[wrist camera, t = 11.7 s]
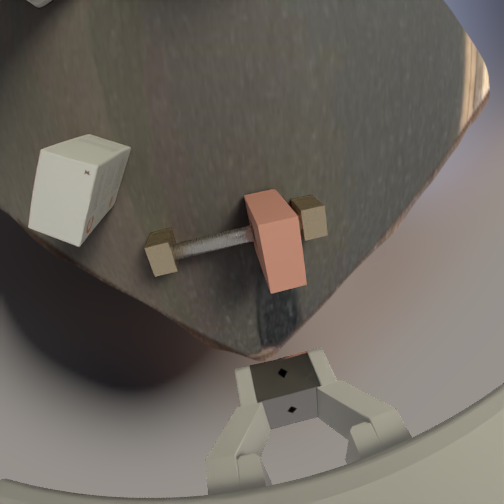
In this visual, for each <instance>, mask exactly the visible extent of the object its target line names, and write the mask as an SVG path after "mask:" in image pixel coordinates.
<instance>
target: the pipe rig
mask: <svg viewBox="0 0 504 504" xmlns="http://www.w3.org/2000/svg"><path fill="white" fill-rule="evenodd" d="M291 206H292V210H293V211H294V212H295V213H296V214H297V215H298V219H299V227H300V234H301V236H302V237H303V239H304V240H305V241H306V240H310V239H314V238H319V237H323V236H327V224H326V214H325V205H323V204H322V203H321V202H320V201H319V200H318V199H316V198H315V197H314V196H313V195H307V196H303V197H298V198H293V199H291ZM253 241H256V239H255V234H254V229H253V225H250V226H245V227H241V228H237V229H233V230H229V231H224V232H220V233H216V234H212V235H208V236H204V237H200V238H196V239H192V240H187V241H183V242H179V243H176V240H175V237H174V234H173V231H172V227H171V228H167V229H163V230H159V231H155V232H152V233H150V235H149V237H148V240H147V243H146V245H145V248H144V249H145V251H146V254H147V257H148V260H149V262H150V265H151V268H152V270H153V273H154V275H155V277H156V276H160V275H164V274H169V273H173V272H177V271H178V265H179V259H183V258H187V257H191V256H195V255H199V254H203V253H208V252H212V251H216V250H220V249H224V248H228V247H233V246H237V245H241V244H245V243H249V242H253Z"/></svg>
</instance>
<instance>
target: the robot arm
mask: <svg viewBox="0 0 504 504" xmlns="http://www.w3.org/2000/svg"><path fill="white" fill-rule="evenodd" d="M27 1H28V2H30V3H31V4H33V5H34V6H35V7H38V8H40V7H43V6H45V5H46V4H48V3H49V2H51V1H52V0H27ZM235 377H236V384H237V390H238V397H239V403H240V407H236V408H235V410H234V412H233V413H232V415H231V417H230V419H229V421H228V422H227V424H226V426H225V428H224V429H223V431H222V433H221V435H220V436H219V438H218V440H217V441H216V443H215V445H214V446H213V449H212V450H211V452H210V453H209V455H208V457H207V458H206V474H207V486H208V495H204V496H193V497H176V498H124V497H106V496H96V495H87V494H78V493H71V492H65V491H58V490H52V489H47V488H42V487H37V486H33V485H29V484H24V483H20V482H17V481H13V480H9V479H1V480H0V504H504V383H503V384H502V385H500V386H499V387H498V388H496V389H495V390H493V391H492V392H491V393H489V394H488V395H486V396H485V397H483V398H482V399H480V400H479V401H477V402H476V403H474V404H472V405H471V406H469V407H468V408H466V409H464V410H463V411H461V412H459V413H458V414H456V415H454V416H453V417H451V418H449V419H447V420H445V421H444V422H442V423H440V424H438V425H436V426H434V427H433V428H431V429H429V430H427V431H425V432H423V433H421V434H419V435H417V436H415V437H413V438H412V437H411V435H410V433H409V431H408V430H407V428H406V426H405V424H404V422H403V420H402V419H401V417H400V415H399V413H398V412H397V410H396V408H394V407H392V406H390V405H388V404H386V403H384V402H382V401H380V400H378V399H376V398H374V397H372V396H371V395H369V394H367V393H365V392H363V391H361V390H359V389H357V388H356V387H354V386H352V385H350V384H348V383H347V382H345V381H343V380H339V381H337V379H336V377H335V375H334V373H333V371H332V368H331V366H330V364H329V362H328V360H327V358H326V356H325V354H324V351H323V349H322V348H320V347H319V348H315V349H312V350H308V351H305V352H301V353H297V354H294V355H291V356H287V357H283V358H280V359H277V360H273V361H268V362H264V363H259V364H254V365H250V366H246V367H241V368H236V369H235ZM316 417H318V418H320V419H321V420H322V421H323V422H325V423H326V424H327V425H329V426H330V427H331V428H333V429H334V430H335V431H337V432H338V433H340V434H341V435H342V436H344V437H345V438H346V439H348V440H349V442H348V447H347V454H346V459H345V460H346V462H347V465H344V466H341V467H338V468H335V469H332V470H329V471H325V472H322V473H319V474H315V475H312V476H309V477H305V478H301V479H297V480H293V481H289V482H284V483H280V484H276V485H272V484H271V480H270V478H269V476H268V474H267V472H266V469H265V467H264V465H263V463H262V461H261V459H260V457H261V455H262V452H263V450H264V447H265V445H266V442H267V440H268V437H269V435H270V432H271V429H274V428H278V427H282V426H285V425H289V424H292V423H296V422H300V421H304V420H308V419H311V418H316Z"/></svg>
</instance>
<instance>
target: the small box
mask: <svg viewBox="0 0 504 504" xmlns="http://www.w3.org/2000/svg"><path fill="white" fill-rule="evenodd" d="M130 151H131V147H129V146H126V145H122V144H119V143H116V142H113V141H109V140H106V139H103V138H100V137H97V136H93V135H90V134H87V135H84V136H80V137H77V138H73V139H70V140H67V141H64V142H61V143H58V144H55V145H52V146H49V147H47V148H44V149H41V150H40V154H39V159H38V164H37V169H36V174H35V180H34V186H33V192H32V199H31V206H30V214H29V224H28V228H30V229H33V230H35V231H38V232H41V233H43V234H46V235H49V236H51V237H54V238H56V239H59V240H62V241H64V242H67V243H69V244H72V245H75V246H77V247H80V246H81V244H82V243H83V242H84V241H85V239H86V238H87V237H88V236H89V234H90V233H91V232H92V231H93V229H94V228H95V227H96V226H97V225H98V223H99V222H100V221H101V220H102V218H103V217H104V216H105V215H106V214H107V212H108V211H109V210H110V209H111V208H112V207H113V206H114V204H115V201H116V198H117V194H118V191H119V187H120V184H121V180H122V177H123V174H124V170H125V167H126V164H127V161H128V157H129V154H130Z"/></svg>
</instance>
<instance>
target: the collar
mask: <svg viewBox="0 0 504 504" xmlns="http://www.w3.org/2000/svg"><path fill="white" fill-rule="evenodd" d="M244 199H245V203H246V208H247V213H248V218H249V223H250V225H253V229H254V234H255V239H256V241H253V242H254V247H255V251H256V254H257V257H258V259H259V262H260V265H261V268H262V270H263V273H264V276H265V279H266V281H267V284H268V287H269V290H270V292H271V294H272V293H276V292H280V291H284V290H287V289H291V288H295V287H299V286H303V285H307V283H306V274H305V266H304V258H303V250H302V242H301V234H300V227H299V219H298V215H297V214H296V213H295V212H294V211H293V210H292V208H291V207H290V206H289V205H288V204H287V203H286V201H285V200H284V199H283V198H282V197H281V196H280V194H279V193H278V192H277V191H276V190H275V189H271V190H267V191H262V192H257V193H253V194H249V195H244Z"/></svg>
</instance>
